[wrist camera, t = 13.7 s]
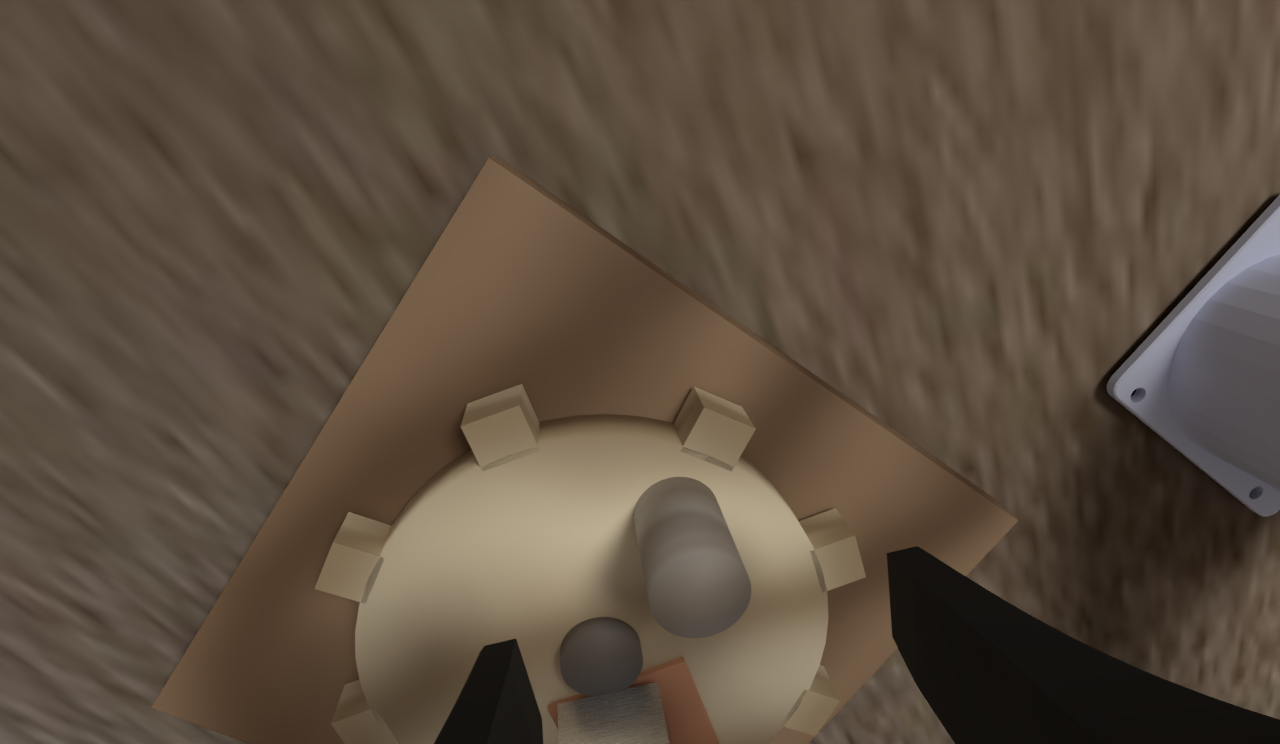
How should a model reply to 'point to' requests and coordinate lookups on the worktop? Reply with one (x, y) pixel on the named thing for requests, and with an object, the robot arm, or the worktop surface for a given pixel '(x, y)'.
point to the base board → (556, 387)
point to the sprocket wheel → (595, 577)
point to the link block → (615, 718)
